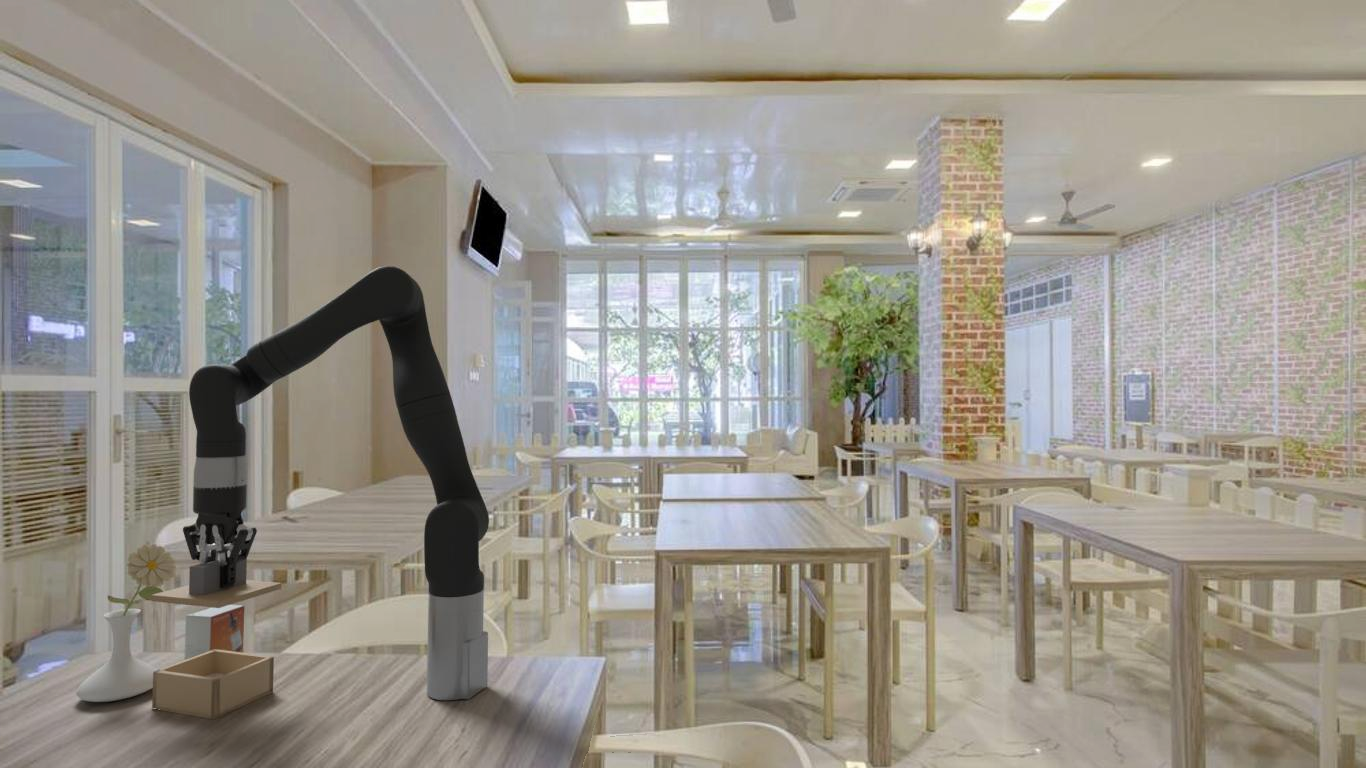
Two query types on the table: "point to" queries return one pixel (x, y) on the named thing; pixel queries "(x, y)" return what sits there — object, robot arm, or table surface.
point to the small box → (214, 630)
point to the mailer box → (212, 683)
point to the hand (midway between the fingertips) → (218, 586)
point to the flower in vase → (129, 632)
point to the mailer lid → (215, 587)
